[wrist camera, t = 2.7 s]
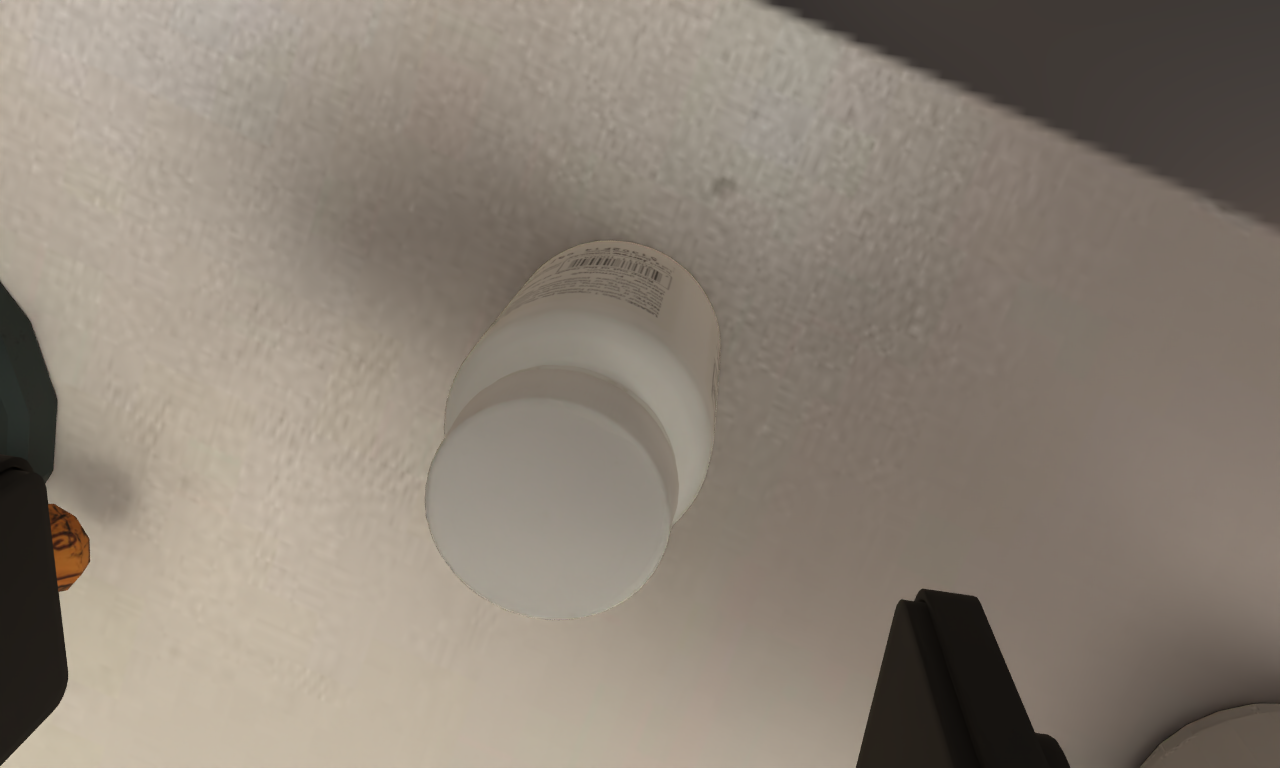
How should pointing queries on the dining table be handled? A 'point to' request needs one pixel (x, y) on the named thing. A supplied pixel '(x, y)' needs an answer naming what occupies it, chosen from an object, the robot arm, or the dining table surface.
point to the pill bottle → (577, 433)
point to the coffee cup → (1224, 741)
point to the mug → (35, 429)
